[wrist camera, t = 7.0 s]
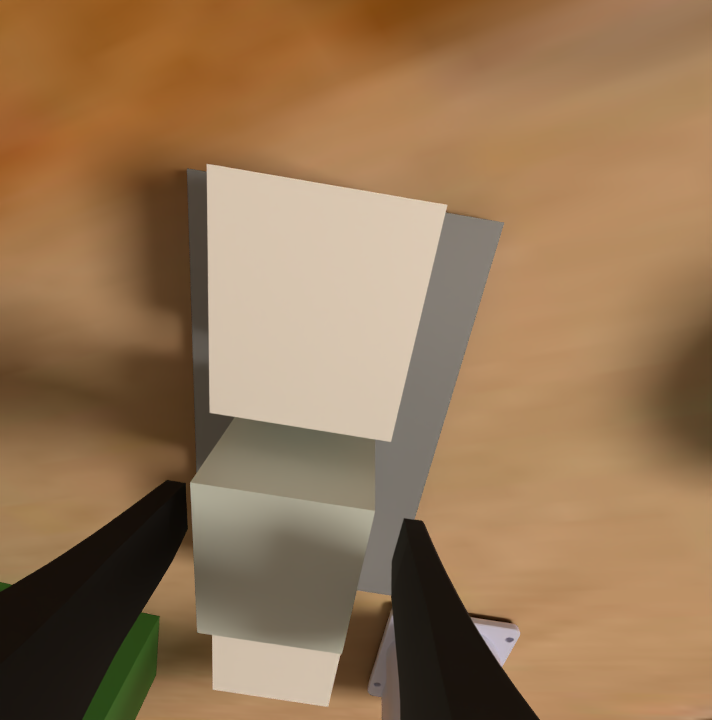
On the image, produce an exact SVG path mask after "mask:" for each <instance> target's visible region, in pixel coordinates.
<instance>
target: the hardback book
mask: <svg viewBox="0 0 712 720" xmlns="http://www.w3.org/2000/svg"><path fill="white" fill-rule="evenodd" d="M10 586H11V584H6V583H2V582H0V592H1V591H2V590H4V589H6V588H8V587H10ZM158 633H159V616H156V615H151V614H146V613H142V612H141V613H140V615H139V616H138V618H137V620H136V621H135V623H134V625H133V626H132V628H131V629H130V631H129V633H128V634H127V636H126V638H125V639H124V641H123V643H122V644H121V646H120V648H119V650H118V651H117V653H116V655H115V657H114V658H113V660H112V662H111V664H110V666H109V668H108V670H107V672H106V674H105V676H104V678H103V680H102V682H101V684H100V686H99V688H98V689H97V691H96V693H95V695H94V697H93V699H92V701H91V703H90V705H89V707H88V709H87V711H86V713H85V715H84V717H83V719H82V720H135V719H136V716H137V714H138V712H139V710H140V708H141V706H142V704H143V702H144V700H145V697H146V695H147V693H148V691H149V689H150V687H151V685H152V683H153V681H154V678H155V676H156V667H157V650H158Z"/></svg>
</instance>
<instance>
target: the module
mask: <svg viewBox="0 0 712 720" xmlns="http://www.w3.org/2000/svg"><path fill="white" fill-rule="evenodd" d="M190 490H191V511H192V532H193V553H194V574H195V595H196V616H197V633H202V634H209V635H215V636H222V637H229V638H236V639H242V640H249V641H256V642H262V643H269V644H276V645H283V646H289V647H296V648H303V649H310V650H316V651H323V652H330V653H336V654H342V652H343V647H344V643H345V639H346V635H347V630H348V626H349V622H350V617H351V613H352V609H353V604H354V600H355V596H356V591H357V587H358V583H359V578H360V574H361V570H362V566H363V561H364V557H365V553H366V548H367V544H368V540H369V535H370V531H371V527H372V522H373V518H374V514H375V439H369V438H363V437H357V436H351V435H345V434H338V433H332V432H326V431H320V430H313V429H307V428H301V427H295V426H289V425H282V424H276V423H270V422H264V421H258V420H251V419H245V418H239V417H235V418H234V419H233V421H232V422H231V424H230V425H229V426H228V428H227V429H226V431H225V432H224V434H223V435H222V437H221V438H220V440H219V441H218V443H217V444H216V445H215V447H214V448H213V450H212V451H211V453H210V454H209V456H208V457H207V459H206V460H205V462H204V463H203V464H202V466H201V467H200V469H199V470H198V472H197V473H196V475H195V476H194V478H193V479H192V481H191V482H190Z"/></svg>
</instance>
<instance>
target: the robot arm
mask: <svg viewBox="0 0 712 720" xmlns="http://www.w3.org/2000/svg"><path fill="white" fill-rule="evenodd" d="M187 529H188V525H187V503H186V483H181V482H175V481H169V480H167V481H165V482H164V483H162V484H161V485H160V486H158V487H157V488H155V489H154V490H153V491H151V492H150V493H149V494H147V495H146V496H145V497H143V498H142V499H141V500H139V501H138V502H137V503H135V504H134V505H133V506H131V507H130V508H129V509H127V510H126V511H125V512H123V513H122V514H120V515H119V516H118V517H116V518H115V519H113V520H112V521H111V522H109V523H108V524H107V525H105V526H104V527H102V528H101V529H100V530H98V531H97V532H95V533H94V534H92V535H91V536H89V537H88V538H86V539H85V540H83V541H82V542H80V543H79V544H77V545H76V546H74V547H73V548H71V549H70V550H68V551H67V552H65V553H64V554H62V555H61V556H59V557H58V558H56V559H55V560H53V561H51V562H50V563H48V564H47V565H45V566H43V567H42V568H40V569H38V570H37V571H35V572H34V573H32V574H30V575H28V576H27V577H25V578H23V579H22V580H20V581H18V582H17V583H15V584H13V585H11V586H10V587H8V588H6V589H4V590H2V591H1V592H0V720H82V719H83V717H84V715H85V713H86V711H87V709H88V707H89V705H90V703H91V701H92V699H93V697H94V695H95V693H96V691H97V689H98V688H99V686H100V684H101V682H102V680H103V678H104V676H105V674H106V672H107V670H108V668H109V666H110V664H111V662H112V660H113V658H114V657H115V655H116V653H117V651H118V650H119V648H120V646H121V644H122V643H123V641H124V639H125V638H126V636H127V634H128V633H129V631H130V629H131V628H132V626H133V625H134V623H135V621H136V620H137V618H138V616H139V615H140V613H141V612H142V610H143V608H144V607H145V605H146V604H147V602H148V600H149V599H150V597H151V595H152V594H153V592H154V591H155V589H156V587H157V586H158V584H159V582H160V581H161V579H162V577H163V576H164V574H165V573H166V571H167V569H168V568H169V566H170V564H171V563H172V561H173V559H174V557H175V555H176V553H177V551H178V548H179V546H180V544H181V542H182V540H183V538H184V536H185V533H186V531H187ZM391 598H392V610H391V612H390V615H389V618H388V622H387V625H386V628H385V631H384V635H383V638H382V641H381V644H380V648H379V651H378V654H377V657H376V660H375V664H374V667H373V670H372V673H371V677H370V680H369V683H368V693H369V694H370V695H373V696H378V697H382V720H540V719H539V718H538V717H537V715H536V714H535V713H534V711H533V710H532V709H531V707H530V706H529V705H528V703H527V702H526V701H525V699H524V698H523V697H522V695H521V694H520V693H519V691H518V690H517V689H516V687H515V686H514V684H513V683H512V681H511V680H510V679H509V677H508V676H507V674H506V673H505V671H504V670H503V668H502V666H503V664H504V662H505V661H506V659H507V657H508V655H509V654H510V652H511V650H512V648H513V647H514V645H515V643H516V641H517V640H518V638H519V636H520V631H519V628H518V626H517V625H515V624H512V623H506V622H499V621H493V620H486V619H480V618H473V617H470V616H469V614H468V612H467V610H466V609H465V607H464V605H463V603H462V601H461V600H460V598H459V596H458V594H457V592H456V590H455V588H454V586H453V584H452V582H451V581H450V579H449V577H448V575H447V573H446V571H445V569H444V567H443V565H442V562H441V560H440V558H439V556H438V554H437V552H436V550H435V547H434V545H433V543H432V541H431V538H430V536H429V534H428V531H427V529H426V526H425V524H424V523H423V521H420V520H413V519H407V518H404V519H403V523H402V526H401V530H400V533H399V537H398V540H397V544H396V547H395V551H394V554H393V558H392V569H391Z"/></svg>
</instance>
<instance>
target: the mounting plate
mask: <svg viewBox="0 0 712 720" xmlns="http://www.w3.org/2000/svg"><path fill="white" fill-rule="evenodd" d="M187 185H188V216H189V248H190V280H191V312H192V344H193V376H194V408H195V440H196V472H198V470H199V469H200V467H201V466H202V464H203V463H204V462H205V460H206V459H207V457H208V456H209V454H210V453H211V451H212V450H213V448H214V447H215V445H216V444H217V443H218V441H219V440H220V438H221V437H222V435H223V434H224V432H225V431H226V429H227V428H228V426H229V425H230V424H231V422H232V421H233V419H234V418H235V417H239V418H245V419H251V420H258V421H264V422H270V423H276V424H282V425H289V426H295V427H301V428H307V429H313V430H320V431H326V432H332V433H338V434H345V435H351V436H357V437H363V438H369V439H375V514H374V518H373V522H372V527H371V531H370V535H369V540H368V544H367V548H366V553H365V557H364V561H363V566H362V570H361V574H360V578H359V583H358V587H357V590H359V591H365V592H372V593H378V594H385V595H391V569H392V558H393V554H394V551H395V547H396V544H397V540H398V537H399V533H400V530H401V526H402V523H403V519H404V518H407V519H413V520H414V519H415V516H416V512H417V509H418V506H419V503H420V499H421V496H422V493H423V489H424V486H425V483H426V479H427V476H428V473H429V469H430V466H431V463H432V460H433V456H434V453H435V450H436V446H437V443H438V440H439V436H440V433H441V430H442V426H443V423H444V420H445V417H446V413H447V410H448V407H449V403H450V400H451V397H452V393H453V390H454V387H455V383H456V380H457V377H458V374H459V370H460V367H461V364H462V360H463V357H464V354H465V350H466V347H467V344H468V341H469V337H470V334H471V331H472V327H473V324H474V321H475V317H476V314H477V311H478V307H479V304H480V301H481V298H482V294H483V291H484V288H485V284H486V281H487V278H488V274H489V271H490V268H491V264H492V261H493V258H494V255H495V251H496V248H497V245H498V241H499V238H500V235H501V231H502V228H503V225H504V223H503V222H497V221H492V220H486V219H480V218H474V217H468V216H462V215H457V214H451V213H446V209H447V205H444V204H439V203H433V202H427V201H421V200H415V199H409V198H404V197H398V196H392V195H386V194H380V193H374V192H369V191H363V190H357V189H351V188H345V187H339V186H334V185H328V184H322V183H316V182H310V181H304V180H299V179H293V178H287V177H281V176H275V175H269V174H263V173H258V172H252V171H246V170H240V169H234V168H228V167H223V166H217V165H211V164H207V172H205V171H199V170H193V169H187ZM339 658H340V654H336V653H330V652H323V651H316V650H310V649H303V648H296V647H289V646H283V645H276V644H269V643H262V642H256V641H249V640H242V639H236V638H229V637H222V636H215V635H212V665H213V690H219V691H226V692H232V693H239V694H246V695H252V696H259V697H266V698H273V699H279V700H286V701H293V702H299V703H306V704H313V705H319V706H326V707H328V705H329V700H330V696H331V692H332V688H333V684H334V679H335V675H336V671H337V667H338V663H339Z"/></svg>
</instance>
